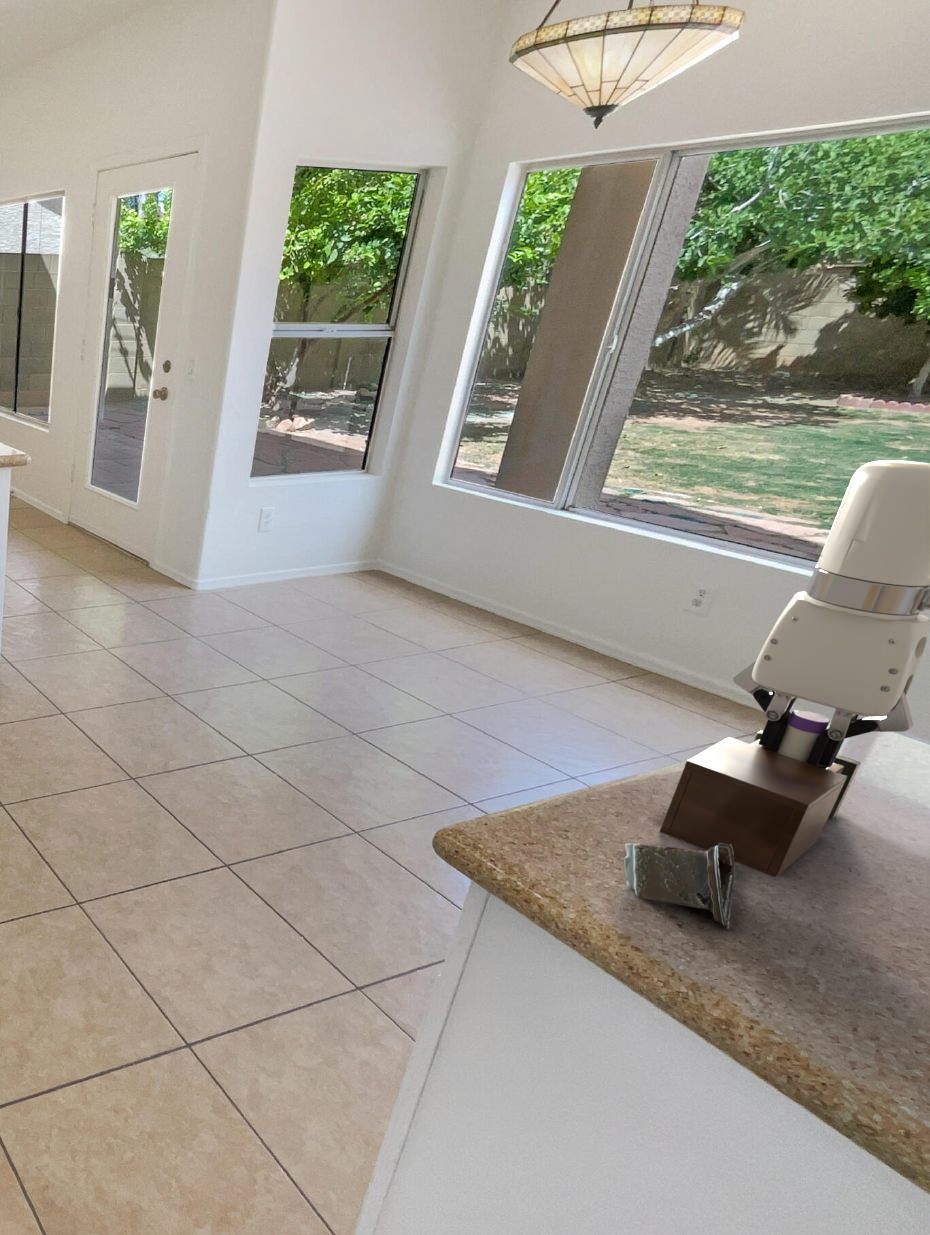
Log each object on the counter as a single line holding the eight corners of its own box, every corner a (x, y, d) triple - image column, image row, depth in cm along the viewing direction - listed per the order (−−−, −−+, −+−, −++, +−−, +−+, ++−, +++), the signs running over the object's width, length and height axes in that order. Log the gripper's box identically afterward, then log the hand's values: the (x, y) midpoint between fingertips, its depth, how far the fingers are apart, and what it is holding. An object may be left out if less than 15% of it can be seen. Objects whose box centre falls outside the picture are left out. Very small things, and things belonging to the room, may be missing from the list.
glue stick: (781, 755, 88) (801, 708, 86) (814, 768, 86) (836, 720, 84) (766, 759, 87) (786, 712, 85) (799, 772, 85) (820, 724, 83)
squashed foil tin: (638, 841, 85) (613, 795, 78) (736, 851, 79) (718, 803, 73) (637, 936, 81) (611, 897, 74) (740, 953, 76) (721, 913, 69)
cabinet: (701, 805, 91) (729, 736, 88) (813, 848, 84) (847, 776, 81) (659, 832, 86) (686, 760, 83) (774, 881, 79) (808, 804, 76)
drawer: (754, 773, 96) (776, 721, 94) (849, 806, 90) (875, 751, 87) (704, 805, 90) (726, 750, 87) (802, 843, 83) (829, 785, 81)
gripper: (1006, 612, 75) (917, 789, 82) (767, 565, 88) (707, 721, 95) (984, 626, 72) (893, 810, 78) (738, 575, 85) (678, 736, 91)
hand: (791, 760), depth 86 cm, fingers closed on glue stick, 2 cm apart
